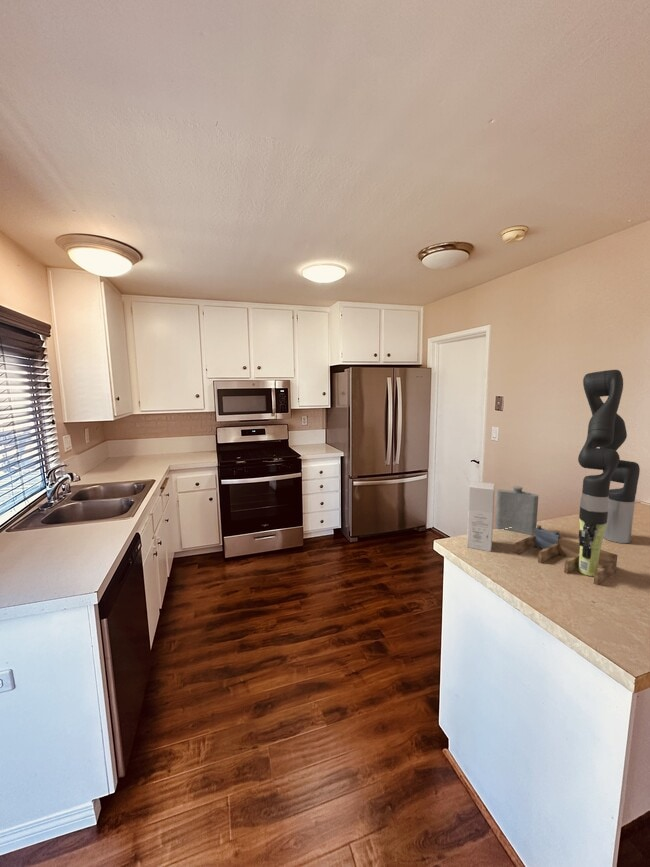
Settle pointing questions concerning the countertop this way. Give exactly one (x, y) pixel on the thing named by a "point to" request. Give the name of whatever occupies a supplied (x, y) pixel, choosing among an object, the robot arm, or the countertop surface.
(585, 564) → the tube
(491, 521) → the tall white carton
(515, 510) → the hip flask
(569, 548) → the wooden slatted rack
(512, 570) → the countertop surface
